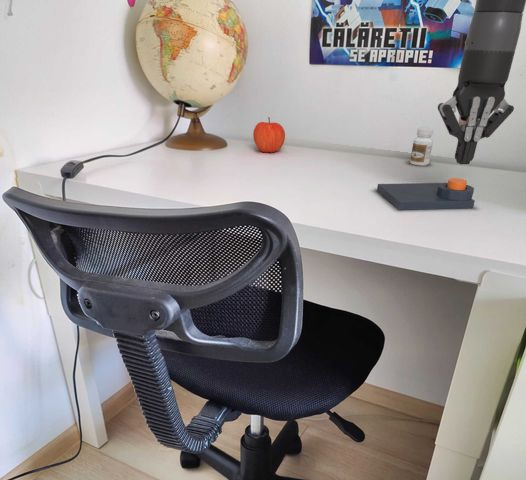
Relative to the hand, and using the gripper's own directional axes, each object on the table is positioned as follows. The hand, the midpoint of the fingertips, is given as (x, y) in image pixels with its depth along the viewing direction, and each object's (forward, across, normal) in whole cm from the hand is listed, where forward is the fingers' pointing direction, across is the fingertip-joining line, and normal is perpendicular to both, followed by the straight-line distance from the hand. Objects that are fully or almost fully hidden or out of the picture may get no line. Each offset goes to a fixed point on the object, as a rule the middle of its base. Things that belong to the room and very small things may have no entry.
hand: (462, 163), depth 87 cm
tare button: (+5, 0, +1) cm, 5 cm away
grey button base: (+7, -4, +4) cm, 9 cm away
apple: (+7, -27, +47) cm, 55 cm away
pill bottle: (+7, +7, +32) cm, 33 cm away
